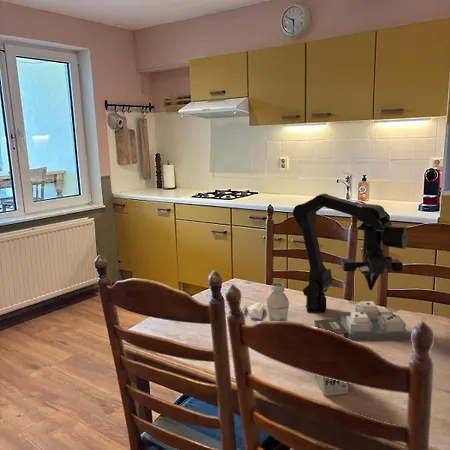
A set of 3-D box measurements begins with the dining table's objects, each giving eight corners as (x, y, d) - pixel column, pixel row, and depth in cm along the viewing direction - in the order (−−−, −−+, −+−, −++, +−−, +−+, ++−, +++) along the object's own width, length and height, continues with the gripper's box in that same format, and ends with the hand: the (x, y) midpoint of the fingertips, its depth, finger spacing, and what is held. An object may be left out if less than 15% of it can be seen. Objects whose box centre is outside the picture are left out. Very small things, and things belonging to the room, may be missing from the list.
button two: (353, 326, 136) (353, 316, 136) (350, 320, 140) (350, 311, 140) (367, 326, 136) (368, 316, 135) (364, 320, 140) (364, 311, 140)
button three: (386, 329, 136) (386, 319, 135) (382, 323, 140) (382, 314, 139) (400, 329, 135) (400, 319, 135) (396, 323, 140) (396, 314, 139)
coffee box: (349, 394, 106) (350, 333, 103) (323, 396, 106) (323, 335, 103) (336, 374, 115) (337, 317, 112) (313, 376, 115) (313, 319, 112)
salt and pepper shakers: (259, 321, 151) (271, 311, 161) (258, 310, 150) (271, 300, 160) (228, 316, 157) (242, 306, 166) (228, 305, 156) (242, 295, 166)
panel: (349, 339, 135) (349, 326, 134) (338, 317, 151) (338, 305, 150) (408, 339, 133) (409, 325, 132) (391, 317, 150) (392, 304, 149)
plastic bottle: (284, 355, 126) (283, 290, 123) (263, 350, 130) (262, 286, 126) (293, 346, 132) (292, 283, 128) (273, 341, 135) (272, 280, 132)
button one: (362, 314, 145) (363, 305, 144) (359, 309, 149) (359, 301, 148) (376, 314, 144) (376, 305, 144) (372, 309, 149) (373, 300, 148)
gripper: (348, 250, 134) (346, 298, 137) (410, 250, 132) (407, 299, 135) (341, 242, 145) (340, 286, 148) (399, 241, 143) (396, 286, 146)
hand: (370, 289), depth 144 cm, fingers closed
